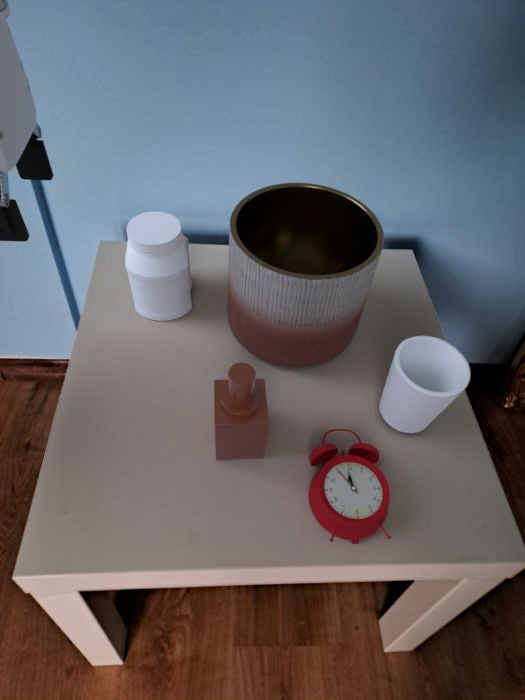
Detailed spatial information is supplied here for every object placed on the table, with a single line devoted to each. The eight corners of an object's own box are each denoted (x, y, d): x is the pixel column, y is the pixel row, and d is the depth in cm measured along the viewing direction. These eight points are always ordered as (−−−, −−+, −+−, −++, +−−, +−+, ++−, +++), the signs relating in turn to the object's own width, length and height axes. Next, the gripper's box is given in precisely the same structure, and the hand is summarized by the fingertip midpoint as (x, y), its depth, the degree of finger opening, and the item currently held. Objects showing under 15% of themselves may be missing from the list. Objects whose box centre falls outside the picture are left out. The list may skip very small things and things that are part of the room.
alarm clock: (319, 544, 53) (308, 419, 60) (310, 546, 59) (301, 432, 65) (406, 540, 54) (385, 417, 61) (388, 542, 60) (372, 430, 66)
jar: (139, 275, 84) (125, 204, 72) (191, 274, 85) (186, 204, 73) (134, 322, 77) (118, 252, 65) (192, 320, 78) (185, 251, 66)
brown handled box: (215, 460, 63) (213, 398, 50) (215, 405, 68) (212, 337, 56) (263, 458, 64) (272, 397, 51) (259, 404, 69) (266, 336, 56)
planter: (227, 275, 85) (228, 178, 70) (344, 278, 87) (370, 183, 71) (226, 372, 72) (227, 278, 56) (364, 373, 74) (402, 282, 58)
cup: (378, 444, 66) (406, 397, 56) (363, 387, 72) (386, 335, 62) (444, 441, 67) (483, 394, 57) (424, 385, 73) (456, 334, 63)
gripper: (-68, -51, 36) (9, 157, 49) (-189, 29, 25) (-48, 266, 38) (32, -42, 36) (81, 160, 50) (-44, 39, 26) (45, 268, 39)
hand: (25, 206), depth 44 cm, fingers open, 9 cm apart
